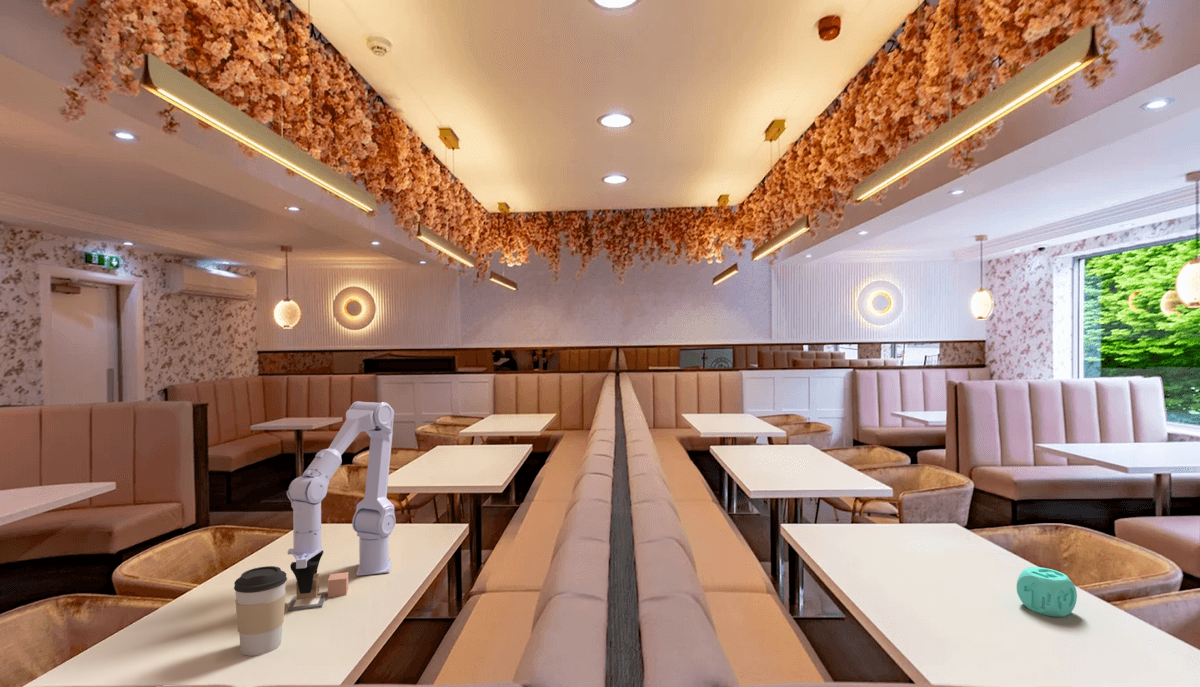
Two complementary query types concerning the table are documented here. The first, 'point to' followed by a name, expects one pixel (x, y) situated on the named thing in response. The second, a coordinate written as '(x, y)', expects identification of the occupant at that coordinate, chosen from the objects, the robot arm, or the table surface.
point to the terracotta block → (338, 584)
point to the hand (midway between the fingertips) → (307, 588)
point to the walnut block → (313, 591)
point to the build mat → (307, 602)
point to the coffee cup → (260, 609)
